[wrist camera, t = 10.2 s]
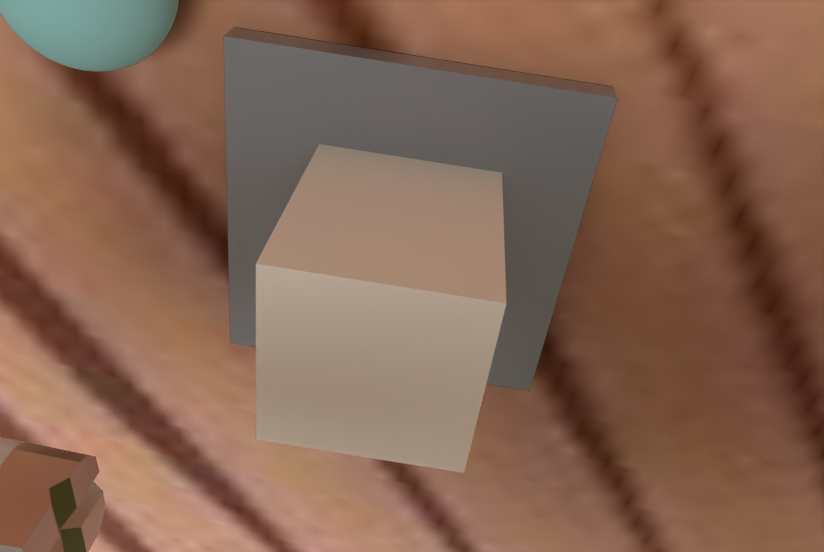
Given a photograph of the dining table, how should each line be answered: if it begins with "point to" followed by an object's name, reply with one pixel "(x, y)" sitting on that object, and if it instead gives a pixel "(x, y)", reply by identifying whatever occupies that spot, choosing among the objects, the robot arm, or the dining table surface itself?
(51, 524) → the robot arm
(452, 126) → the slate coaster
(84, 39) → the teal ball
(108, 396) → the dining table surface
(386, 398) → the cream block
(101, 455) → the dining table surface
